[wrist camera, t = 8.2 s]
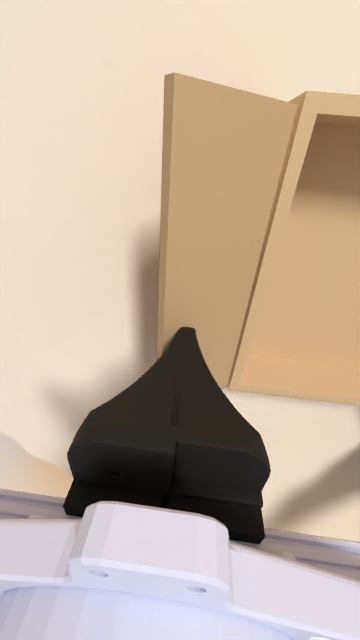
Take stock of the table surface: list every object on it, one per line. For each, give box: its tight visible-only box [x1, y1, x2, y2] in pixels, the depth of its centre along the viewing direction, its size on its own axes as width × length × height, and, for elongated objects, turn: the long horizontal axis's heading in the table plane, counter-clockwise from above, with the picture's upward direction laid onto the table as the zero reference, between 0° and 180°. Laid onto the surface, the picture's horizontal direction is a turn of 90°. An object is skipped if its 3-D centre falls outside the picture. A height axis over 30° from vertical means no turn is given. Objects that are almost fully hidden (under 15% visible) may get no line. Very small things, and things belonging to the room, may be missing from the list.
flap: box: [157, 73, 298, 389], centre depth 13 cm, size 15×6×1 cm
